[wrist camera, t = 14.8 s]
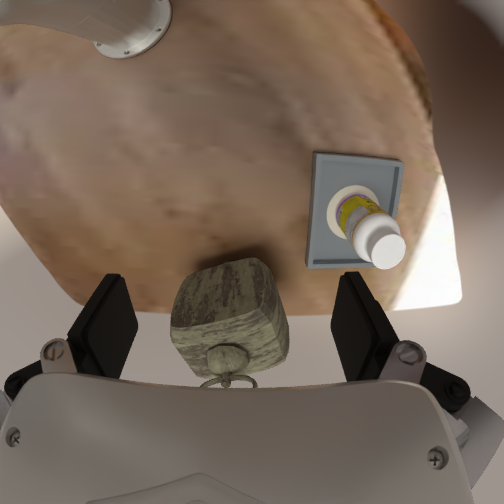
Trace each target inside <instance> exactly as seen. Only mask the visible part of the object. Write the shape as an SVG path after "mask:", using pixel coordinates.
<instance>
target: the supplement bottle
mask: <svg viewBox="0 0 504 504" xmlns="http://www.w3.org/2000/svg"><path fill="white" fill-rule="evenodd" d="M336 222H337V224H338V226H339V227H340V229H341V230H342V232H343V233H344V235H345V236H346V238H347V239H348V241H349V242H350V244H351V245H352V247H353V248H354V250H355V251H356V253H357V254H358V256H359V257H360V258H362V259H363V260H365V261H368V262H372V263H373V264H374V265H375V266H376V267H377V268H379V269H390V268H392V267H394V266H396V265H397V264H398V263H399V262H400V261H401V259H402V258H403V256H404V254H405V249H406V246H405V242H404V240H403V238H402V237H401V236H400V229H399V226H398V224H397V222H396V221H395V220H394V219H393V218H392V217H391V216H390V215H389V214H387V213H386V212H385V211H384V210H383V209H382V208H381V207H380V206H378V205H377V204H376V203H375V202H374V201H373V200H371V199H370V198H369V197H367V196H366V195H363V194H359V193H356V194H351V195H348V196H346V197H345V198H344V199H343V200H342V201H341V202H340V203H339V205H338V207H337V209H336Z"/></svg>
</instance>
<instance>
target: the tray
mask: <svg viewBox="0 0 504 504" xmlns="http://www.w3.org/2000/svg"><path fill="white" fill-rule="evenodd" d="M403 170H404V162H402V161H400V160H396V159H389V158H381V157H372V156H362V155H352V154H339V153H325V152H313V164H312V182H311V197H310V211H309V224H308V236H307V247H306V257H305V263H306V266H307V269H322V268H359V267H376V266H375V265H374V264H373V263H372V262H368V261H365V260H363V259H362V258H360V257H359V256H358V254H357V253H356V251H355V250H354V248H353V247H352V245H351V244H350V242H349V241H348V239H347V238H346V236H345V235H344V233H343V232H342V230H341V229H340V227H339V226H338V224H337V222H336V209H337V207H338V205H339V203H340V202H341V201H342V200H343V199H344V198H345V197H346V196H348V195H351V194H356V193H359V194H363V195H366V196H367V197H369V198H370V199H371V200H373V201H374V202H375V203H376V204H377V205H378V206H380V207H381V208H382V209H383V210H384V211H385V212H386V213H387V214H389V215H390V216H391V217H392V218H393V219H394V220H396V214H397V209H398V203H399V197H400V191H401V184H402V177H403Z"/></svg>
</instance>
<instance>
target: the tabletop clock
mask: <svg viewBox="0 0 504 504" xmlns="http://www.w3.org/2000/svg"><path fill="white" fill-rule="evenodd" d="M170 326H171V327H170V336H171V340H172V343H173V344H174V346H175V347H176V349H177V350H178V351H179V353H180V354H181V356H182V357H183V358H184V360H185V361H186V363H187V364H188V365H189V367H190V368H191V369H192V371H193V372H194V373H195V375H196V376H197V377H200V378H205V379H211V380H209V381H207V382H205V383H204V384H202V385H201V386H200V387H208V386H210V385H213V384H216V383H221V385H222V386H223V387H224V388H228V387H230V385H231V381H234V380H245V381H249V382H252V384H253V388H257V383H256V381H255V380H254V379H253V378H251V377H249V376H246V375H247V374H251V373H255V372H259V371H263V370H266V369H270V368H272V367H274V366H277V365H278V364H280V363H282V362H284V361H285V360H286V357H287V354H288V351H289V325H288V322H287V318H286V315H285V311H284V308H283V305H282V302H281V299H280V296H279V293H278V290H277V287H276V283H275V280H274V277H273V274H272V272H271V270H270V269H269V267H268V266H266V265H265V264H264V263H263V262H261V261H260V260H259V259H257V258H246V259H241V260H237V261H233V262H230V261H226V262H225V263H224V264H221V265H218V266H214V267H211V268H208V269H205V270H201V271H198V272H196V273H193V274H191V275H189V276H187V277H186V279H185V280H184V281H183V283H182V284H181V286H180V289H179V291H178V293H177V296H176V298H175V301H174V305H173V309H172V313H171V324H170Z"/></svg>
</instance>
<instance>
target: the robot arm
mask: <svg viewBox="0 0 504 504" xmlns="http://www.w3.org/2000/svg"><path fill="white" fill-rule="evenodd" d="M171 15H172V9H171V5H170V2H169V0H162V1H161V0H0V26H3V25H11V24H28V25H36V26H42V27H46V28H51V29H55V30H59V31H62V32H66V33H69V34H73V35H76V36H80V37H83V38H86V39H89V40H92V41H93V43H94V45H95V47H96V49H97V50H98V51H99V52H100V53H101V54H103V55H105V56H107V57H110V58H115V59H126V58H131V57H134V56H137V55H139V54H141V53H143V52H145V51H147V50H148V49H149V48H151V47H152V46H154V45H155V44H156V43H157V42H158V41H159V40H160V39H161V37H162V36H163V35H164V33H165V32H166V30H167V28H168V26H169V24H170V21H171ZM161 29H162V30H161ZM159 30H161V31H160V32H159ZM129 52H130V53H129ZM128 53H129V54H128ZM137 331H138V322H137V319H136V315H135V312H134V309H133V306H132V303H131V300H130V296H129V293H128V290H127V286H126V283H125V279H124V278H123V277H121V275H120V274H106V276H105V277H104V278H103V280H102V281H101V283H100V284H99V286H98V287H97V289H96V290H95V291H94V293H93V294H92V296H91V297H90V299H89V300H88V302H87V303H86V305H85V307H84V308H83V310H82V311H81V313H80V314H79V316H78V317H77V319H76V321H75V322H74V324H73V326H72V327H71V329H70V330H69V332H68V334H67V335H68V338H67V340H64V339H61V338H56V339H53V340H51V341H49V342H47V343H46V344H45V345H44V346H43V348H42V350H41V352H40V358H41V360H39V361H37V362H35V363H33V364H30V365H28V366H26V367H25V368H22V369H20V370H19V371H16V372H14V373H13V374H11V375H10V376H9V377H8V378H7V380H6V382H5V385H4V390H5V391H2V390H0V504H474V503H473V497H472V492H471V489H472V488H473V487H474V485H475V484H476V482H477V481H478V479H479V478H480V476H481V475H482V473H483V471H484V470H485V469H486V467H487V466H488V464H489V462H490V461H491V459H492V457H493V456H494V454H495V452H496V450H497V449H498V447H499V445H500V443H501V441H502V439H503V438H504V420H503V419H502V418H501V417H500V416H499V415H498V414H496V413H495V412H494V411H493V410H492V409H490V408H489V407H488V406H487V405H486V404H485V403H483V402H482V401H481V400H480V399H478V398H477V397H476V396H475V397H474V398H472V397H471V396H470V394H471V392H470V388H469V386H468V384H467V383H466V382H465V381H464V380H463V379H462V378H460V377H458V376H456V375H453V374H451V373H449V372H447V371H445V370H443V369H441V368H438V367H436V366H434V365H432V364H430V363H428V362H426V358H427V356H426V352H425V350H424V349H423V347H421V346H420V345H419V344H417V343H416V342H413V341H409V340H403V341H400V340H399V339H398V337H397V335H396V333H395V331H394V329H393V327H392V325H391V324H390V322H389V320H388V318H387V316H386V314H385V313H384V311H383V309H382V307H381V305H380V304H379V302H378V301H377V300H375V299H374V297H373V295H372V293H371V292H370V290H369V288H368V286H367V285H366V283H365V281H364V280H363V278H362V276H361V275H360V273H359V272H358V271H356V272H345V274H344V275H341V277H340V280H339V286H338V291H337V296H336V301H335V305H334V310H333V315H332V319H331V332H332V335H333V338H334V341H335V344H336V347H337V350H338V354H339V357H340V360H341V363H342V367H343V370H344V374H345V377H346V380H347V382H343V383H333V384H322V385H309V386H297V387H276V388H208V387H188V386H175V385H163V384H152V383H144V382H136V381H129V380H121V379H119V378H120V375H121V372H122V369H123V366H124V364H125V361H126V359H127V356H128V353H129V351H130V348H131V346H132V343H133V341H134V338H135V336H136V333H137Z"/></svg>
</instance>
